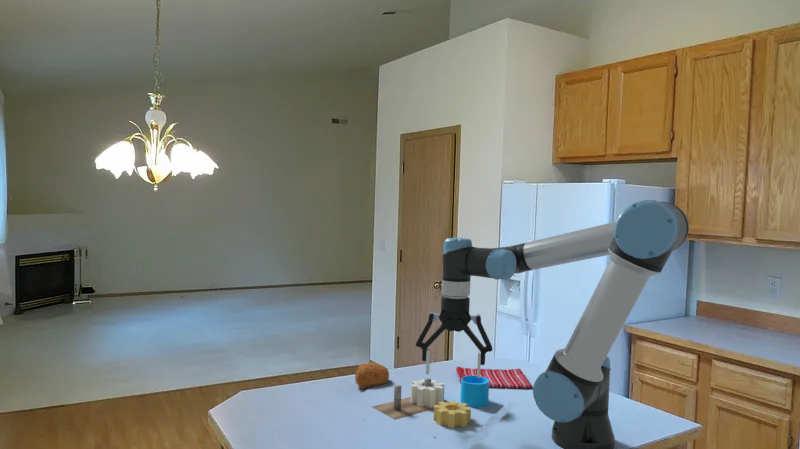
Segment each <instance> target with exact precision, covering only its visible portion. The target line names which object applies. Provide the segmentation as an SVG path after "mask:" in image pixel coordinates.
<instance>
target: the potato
mask: <svg viewBox="0 0 800 449" xmlns="http://www.w3.org/2000/svg"><path fill="white" fill-rule="evenodd" d="M354 377H355V383H356V385H357V386H358V387H360V388H361V389H368V388H374V387H376V386H380V385H384V384H386V383H387V382H388V381H389V378H390V372H389V369H388V368H387V367H386V366H385V365H382V364H380V363H375V362H366V363H361V364H360V365H359V366H358V367H357V369H356V371H355V375H354Z"/></svg>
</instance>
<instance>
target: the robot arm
mask: <svg viewBox="0 0 800 449" xmlns="http://www.w3.org/2000/svg"><path fill="white" fill-rule="evenodd" d="M689 232H690V222H689V220H688V218H687V215H686V213H685V212H684V211H683V210H682V209H681V208H680V207H678V205H676V204H673V203H671V202H667V201H657V200H653V199H645V200H639V201H637V202H634V203H633V204H631V205H628V206H627V207H625V208H624V209H623V210H622V211H620V213H619V214H618V216H617V217H616V220H615V221H612V222H609V223H604V224H600V225H595V226H591V227H588V228H583V229H579V230H575V231H570V232H566V233H562V234H556V235H553V236H549V237H544V238H540V239H536V240H533V241H527V242H524V243H518V244H515V245H510V246H503V247H493V248H492V247H491V248H490V247H477V246H473V243H472V239H470V238H466V237H447V238H445V240H444V242H443V249H442V250H443V251H442V276H441V278H442V279H441V295H442V296H441V299H440V302H441V303H440V306H441V307H440V313H436V312H434V311H430V312H429V315H428V321H426V324H425V326H424V328H423V329H422V331H421V333H420V335H419V337H418V339H417V341H416V343H415V346H416V347H417V348H420V349H421V351H422V354H421V355H422V356H421V360H422V361H423V362H425V375H430V368H431V367H430V364H431V362H430V361H431V360H430V359H431V358H430V357H431V348H430V346H431V345H432V344H433V343H434V342H435V341H436V339H437V338H438V337H439V336H440V335H441V334H442V333H443V332H444V331H445V330H447V331H448V332H454V331H455V332H459V333H460V332H462V331H463V332H464V333H465V334H466V335H467V336H468V338H469V339H470V340H471V341H472V343H473V344H474V345H475V347H476V348H477V349H478V350H477V364H476V365H477V367H476V369H477V378H480V369H481V366H485V364H486V353H488V352H492V351H493V345H492V343H491V341H490V339H489V337H488V335H487V334H488V333H487V332H486V329H485V328H484V326H483V323H482V315H481V314H479V313H478V314H476V315H471V314H470V305H471V304H470V302H471V301H470V300H471V299H470V297H469V296H470V295H471V277H482V278H486V279H487V278H488V279H494V280H497V281H499V280H510V279H511V278H512V277H513V276H514V275H515V274H522V273H524V272H526V273H527V272H529V271H533V270H540V269H544V268H549V267H554V266H558V265H564V264H569V263H574V262H575V263H576V262H580V261H585V260H591V259H596V258H599V257H605V256H610V259H609V262H608V264H607V266H606V268H605V270H604V272H603V273H602V276H601V278H600V279H599V280H598V282H597V285H596V287H595V289H594V290H593V293H592V295H591V297H590V299H589V300H588V303H587V305H586V307H585V308H584V310H583V312H582V315H581V317H580V318H579V320H578V322H577V324H576V325H575V329H574V330H573V333H572V334H571V336H570V338H569V340H568V342H567V344H566V345H565V348H559V349H557V350H555V352H554V355H553V356H552V359H550V362H549V364H548V366H547V368H546V370H545V371H544V372H541V374H539V375H538V377H537V378H536V379H535V381H534V384H533V385H532V394H533V399H534V401H535V405H536V406H537V407H538V409H539V411H540V412H541V413H542V414H543V415H544V416H545V417H547V418H548V419H550V420H552V421H554V422H553V425H552V427H551V428H552V429H551V440H552V441H553V442H554V443H555V444H557V445H558V446H560V447H561V448H563V449H615V440H616V439H615V434H614V431H613V428H612V422H611V420H610V417H609V416H610V415H609V403H610V402H609V401H610V380H611V379H610V378H611V370H612V368H611V359H610V357H609V356H608V355H609V353H610V351H611V349H612V347H613V346H614V343H615V342H616V340H617V339H618V336H619V334H620V332H621V331H622V328H623V327H624V325H625V323H626V321H627V319H628V318H629V316H630V314H631V312H632V310H633V308H634V307H635V304H636V303H637V301H638V299H639V297H640V295H641V294H642V292H643V290H644V287H645V286H646V284H647V283H648V280H649V279H650V278H651V277H652V276H656V275H659V274H661V273H662V270H663V269H664V268H665V265H666V264H667V262H668V260H669V259H670V256H671V255H672V253H673V251H675V250H677V249H679V248H680V247H681V246H682V245H683V244H684V243H685V242H686V240H687V239H688V235H689ZM437 319H439V321H440V323H441V324H440V326H438V328H437V329H436V330H435V331H434V332H433V333H432V334H431V335H430V336H429V338H427V340H426V341H425V342H423V341H424V339H425V337H426V336H427V334H428V332H429V330H430V328H431V327H432V325H433V323H434V322H436V321H437ZM471 321H472V322H473V324H474V325H476V326H477V329H478V331H479V332H478V333H479V334H480V336H481V338H482V340H483V342H484V344H483V343H482V342H481V341H480V339H478V337H477V336H476V335H475V333H474V332H473V331H472V329H471V327H470V326H469V325H468V324H469V323H470V322H471ZM484 345H485V346H484Z"/></svg>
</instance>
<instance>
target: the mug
mask: <svg viewBox="0 0 800 449" xmlns="http://www.w3.org/2000/svg"><path fill="white" fill-rule="evenodd" d="M489 389H490V388H489V380H488V379H487V378H485V377H481V376H480V378H477V376H464V377H462V378H461V384H460V404H461V403H465V404H468V407H469V408H484V407H486V406H488V405H489V395H490V394H489V392H490V390H489Z"/></svg>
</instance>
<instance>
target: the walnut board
mask: <svg viewBox="0 0 800 449" xmlns="http://www.w3.org/2000/svg"><path fill="white" fill-rule="evenodd" d="M423 379H424V386H425V387H431V380H432V379H431V378H423ZM393 388H394V389H393V391H394V392H393V401H390V402H386V403H381V404H377V405H373V406H372V408H373V409H375V410H377V411H378V412H381V413H382V414H383V415H386V416H388V417H389V418H391V419H393V420H398V419H401V418H406V417H409V416H413V415H417V414H420V413H424V412H425V413H426V412H428V411H432V410H434V407H432V408H430V407H429V406H423V407H419V406H417V404H416V403H411V402H410V398H411V396H409V397H405V398H402V385H399V384H396V385H394V386H393ZM444 402H445V403H446V402H449V401H447V400H445V399H444Z"/></svg>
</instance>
